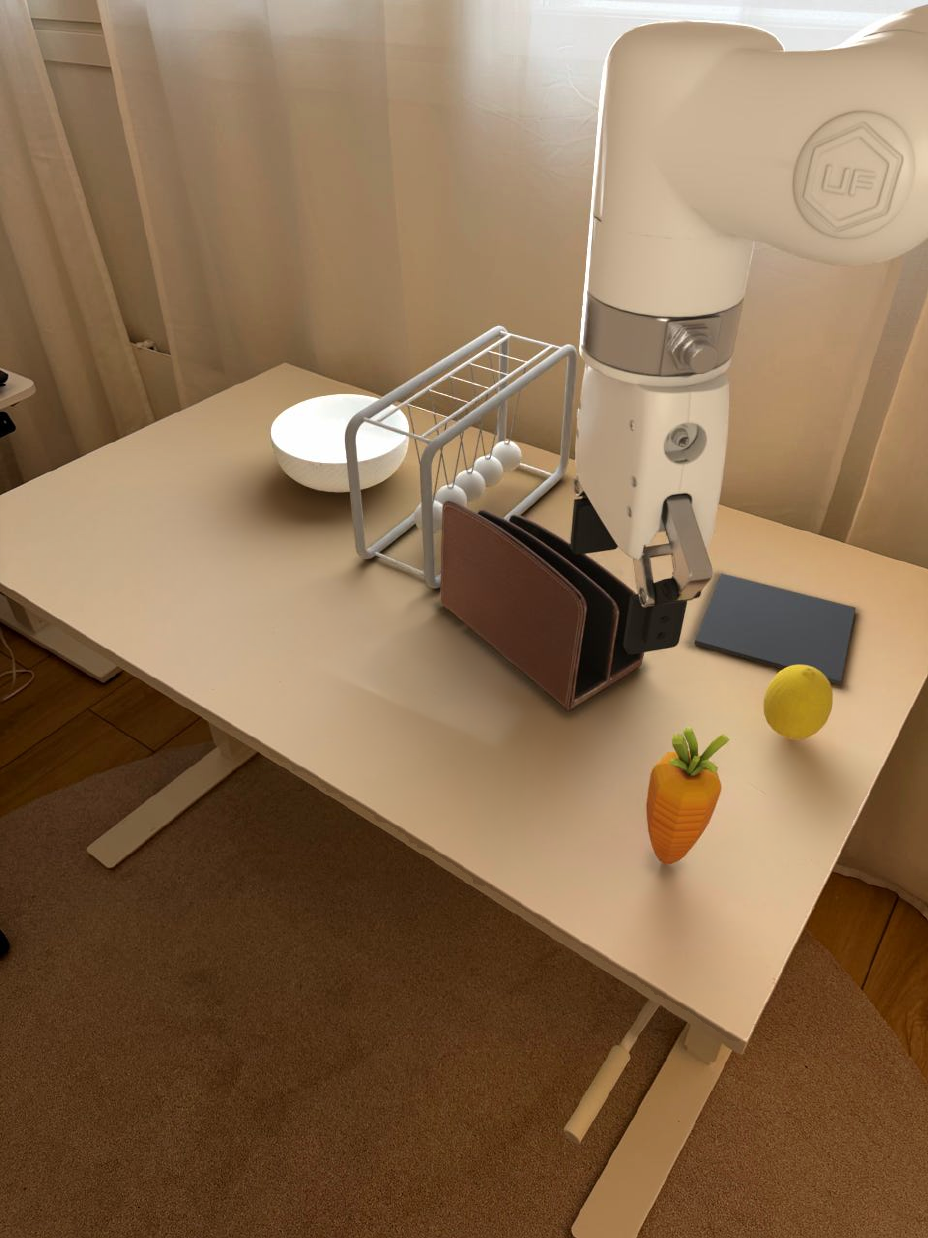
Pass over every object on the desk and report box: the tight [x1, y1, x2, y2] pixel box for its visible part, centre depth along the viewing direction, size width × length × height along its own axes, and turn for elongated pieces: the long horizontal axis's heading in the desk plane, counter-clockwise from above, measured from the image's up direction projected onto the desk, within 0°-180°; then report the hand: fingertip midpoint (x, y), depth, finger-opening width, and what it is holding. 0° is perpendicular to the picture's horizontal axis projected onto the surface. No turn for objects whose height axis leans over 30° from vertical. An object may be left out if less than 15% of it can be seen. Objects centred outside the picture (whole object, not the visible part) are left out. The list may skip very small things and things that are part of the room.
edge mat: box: [694, 572, 856, 686], centre depth 91 cm, size 14×12×1 cm
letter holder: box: [439, 501, 645, 712], centre depth 86 cm, size 10×20×14 cm, turn 38°
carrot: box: [645, 727, 730, 865], centre depth 65 cm, size 5×5×15 cm
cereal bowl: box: [270, 393, 410, 493], centre depth 111 cm, size 17×17×7 cm
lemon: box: [762, 665, 834, 740], centre depth 78 cm, size 6×6×8 cm
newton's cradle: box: [345, 325, 578, 590], centre depth 101 cm, size 30×10×18 cm, turn 146°
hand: (620, 595), depth 55 cm, fingers open, 9 cm apart
